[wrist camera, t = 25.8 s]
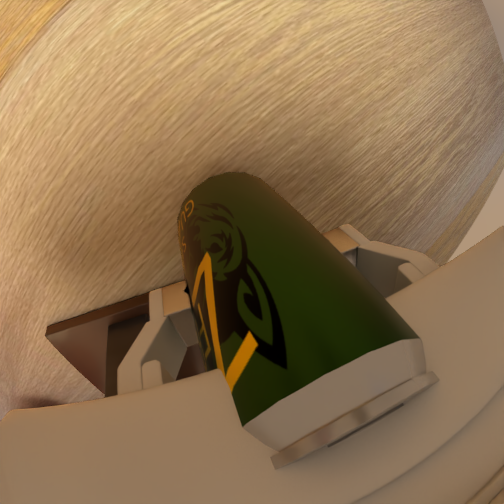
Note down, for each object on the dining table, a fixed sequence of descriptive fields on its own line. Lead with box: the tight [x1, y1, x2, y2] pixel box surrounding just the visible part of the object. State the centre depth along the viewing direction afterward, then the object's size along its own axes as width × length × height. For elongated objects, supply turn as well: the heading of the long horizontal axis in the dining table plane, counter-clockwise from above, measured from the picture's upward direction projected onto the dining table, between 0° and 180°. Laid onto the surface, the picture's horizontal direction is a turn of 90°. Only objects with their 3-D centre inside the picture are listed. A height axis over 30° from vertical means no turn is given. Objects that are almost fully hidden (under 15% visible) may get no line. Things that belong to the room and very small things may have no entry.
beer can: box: [177, 172, 439, 470], centre depth 10 cm, size 5×5×12 cm
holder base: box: [45, 292, 205, 398], centre depth 18 cm, size 14×14×8 cm
